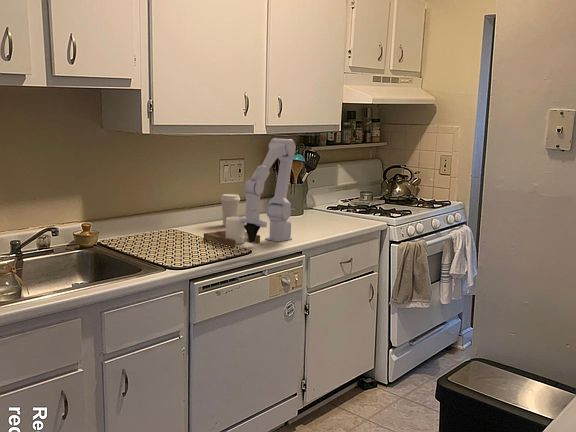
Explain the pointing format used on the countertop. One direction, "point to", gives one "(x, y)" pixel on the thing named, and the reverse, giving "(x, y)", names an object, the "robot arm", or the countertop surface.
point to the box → (220, 238)
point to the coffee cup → (229, 206)
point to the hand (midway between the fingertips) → (251, 241)
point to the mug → (235, 230)
